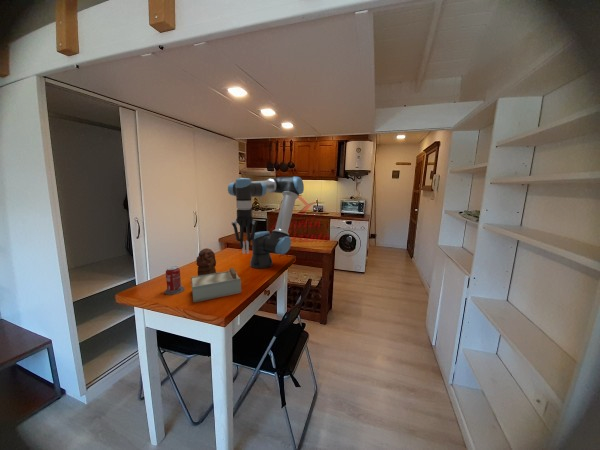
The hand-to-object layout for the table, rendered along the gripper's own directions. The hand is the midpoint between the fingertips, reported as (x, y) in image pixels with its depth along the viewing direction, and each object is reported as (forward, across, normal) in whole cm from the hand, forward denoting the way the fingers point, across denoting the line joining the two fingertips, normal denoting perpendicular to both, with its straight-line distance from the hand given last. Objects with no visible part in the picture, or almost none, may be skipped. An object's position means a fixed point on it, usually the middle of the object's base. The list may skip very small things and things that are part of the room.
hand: (245, 253), depth 118 cm
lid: (+12, +16, 0) cm, 20 cm away
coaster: (+18, +34, -11) cm, 41 cm away
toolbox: (+18, +16, 0) cm, 24 cm away
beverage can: (+18, +34, -11) cm, 41 cm away
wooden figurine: (+19, +18, -20) cm, 32 cm away
